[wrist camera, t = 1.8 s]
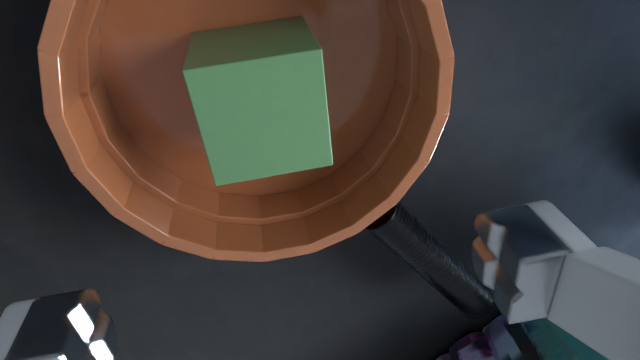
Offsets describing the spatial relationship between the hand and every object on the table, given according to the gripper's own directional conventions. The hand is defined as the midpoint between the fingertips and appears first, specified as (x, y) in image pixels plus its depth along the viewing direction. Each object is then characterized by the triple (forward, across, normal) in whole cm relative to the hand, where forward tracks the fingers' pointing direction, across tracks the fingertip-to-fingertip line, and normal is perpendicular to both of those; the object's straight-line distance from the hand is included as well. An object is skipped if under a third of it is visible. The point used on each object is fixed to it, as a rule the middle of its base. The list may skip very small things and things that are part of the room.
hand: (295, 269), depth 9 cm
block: (+12, 0, 0) cm, 12 cm away
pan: (+12, 0, 0) cm, 12 cm away
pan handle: (+10, -7, +10) cm, 16 cm away
